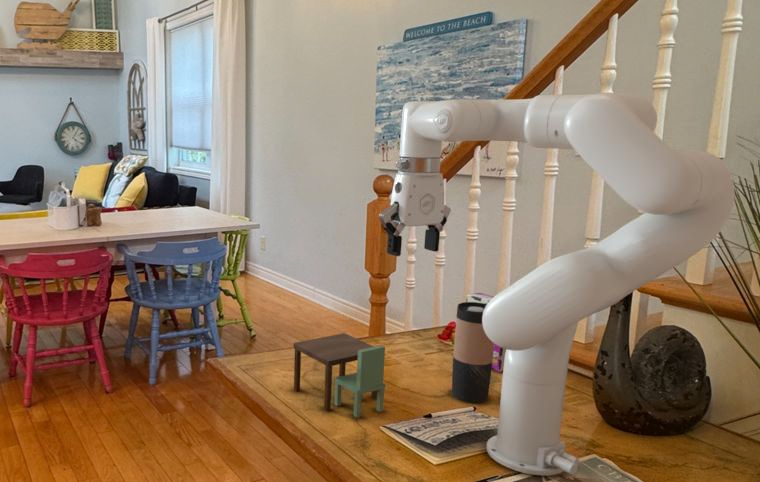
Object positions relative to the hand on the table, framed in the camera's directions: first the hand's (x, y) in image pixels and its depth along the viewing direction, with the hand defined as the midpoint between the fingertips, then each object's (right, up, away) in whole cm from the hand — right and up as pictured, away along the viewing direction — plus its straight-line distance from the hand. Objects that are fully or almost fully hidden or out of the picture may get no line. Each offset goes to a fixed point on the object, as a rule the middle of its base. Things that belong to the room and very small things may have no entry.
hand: (412, 252), depth 126 cm
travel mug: (+16, -31, +11) cm, 37 cm away
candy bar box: (+29, -28, +28) cm, 49 cm away
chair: (-9, -32, +6) cm, 34 cm away
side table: (-12, -31, +12) cm, 36 cm away
